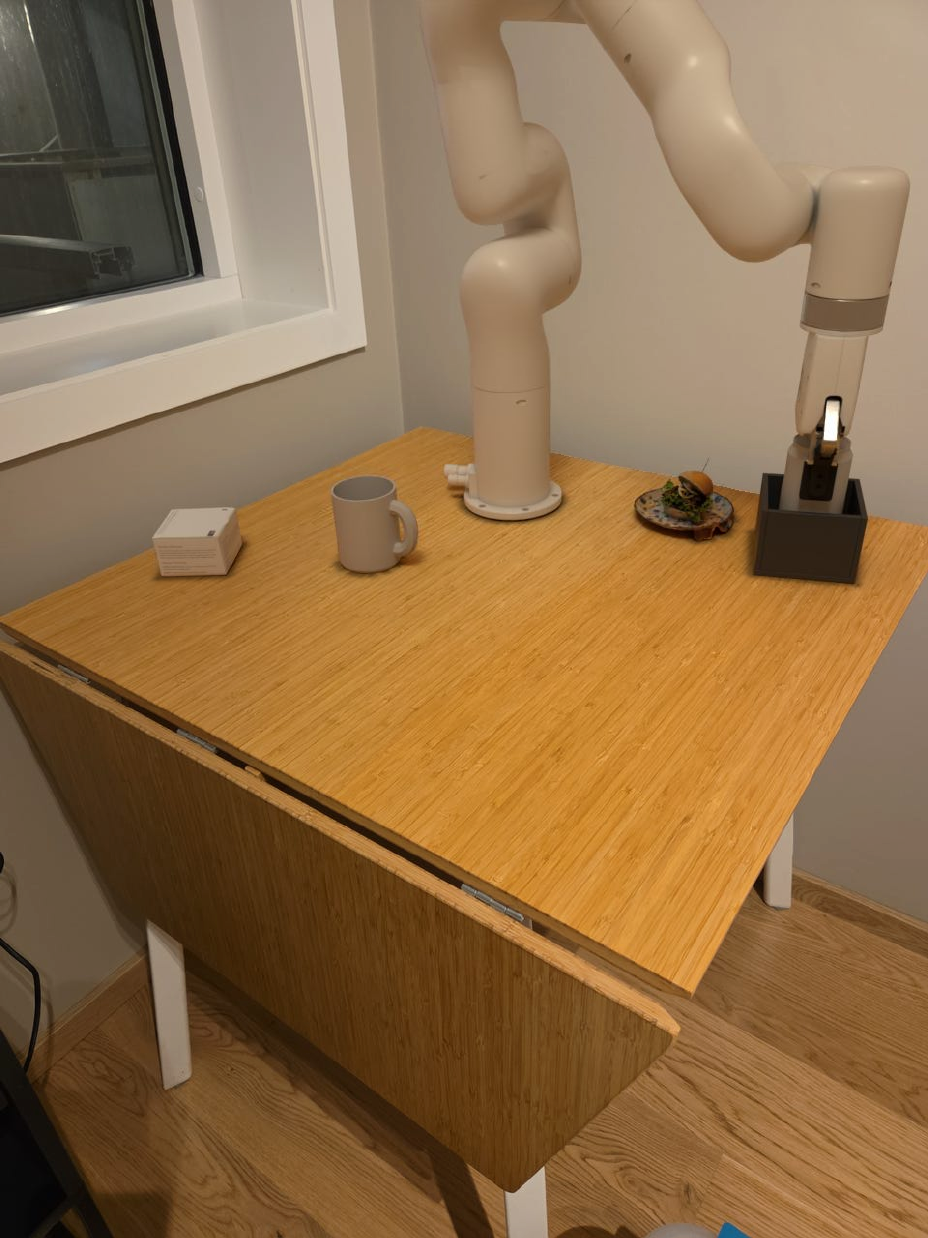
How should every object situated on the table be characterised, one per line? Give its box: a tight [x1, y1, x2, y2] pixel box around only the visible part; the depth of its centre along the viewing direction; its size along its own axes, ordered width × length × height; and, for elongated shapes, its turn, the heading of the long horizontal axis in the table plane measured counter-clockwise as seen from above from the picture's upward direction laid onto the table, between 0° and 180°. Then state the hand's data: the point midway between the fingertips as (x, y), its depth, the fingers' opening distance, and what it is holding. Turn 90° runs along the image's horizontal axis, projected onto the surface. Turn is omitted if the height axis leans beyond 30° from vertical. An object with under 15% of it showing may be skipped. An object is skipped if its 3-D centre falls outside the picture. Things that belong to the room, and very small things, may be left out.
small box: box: [151, 506, 243, 577], centre depth 105 cm, size 8×8×5 cm
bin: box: [752, 472, 869, 585], centre depth 98 cm, size 10×10×8 cm
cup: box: [330, 474, 419, 574], centre depth 101 cm, size 7×10×9 cm
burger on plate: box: [633, 458, 735, 542], centre depth 108 cm, size 12×12×8 cm
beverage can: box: [779, 431, 854, 514], centre depth 96 cm, size 6×6×12 cm
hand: (813, 484), depth 96 cm, fingers closed on beverage can, 6 cm apart
